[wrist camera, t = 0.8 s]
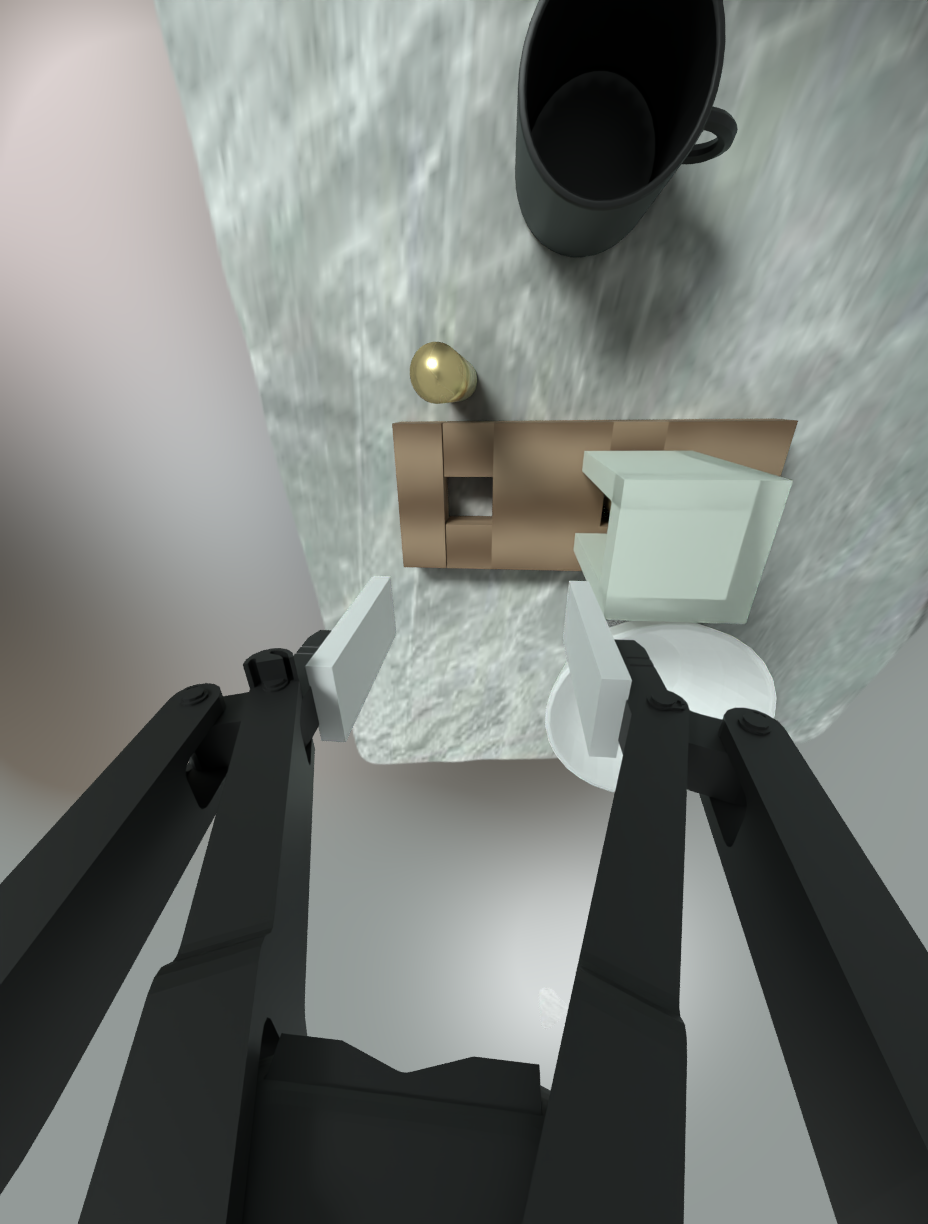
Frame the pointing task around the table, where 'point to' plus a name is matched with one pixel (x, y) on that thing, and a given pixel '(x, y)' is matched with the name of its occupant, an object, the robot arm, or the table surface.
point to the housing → (679, 535)
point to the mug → (613, 112)
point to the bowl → (688, 665)
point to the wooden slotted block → (542, 481)
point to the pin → (442, 374)
